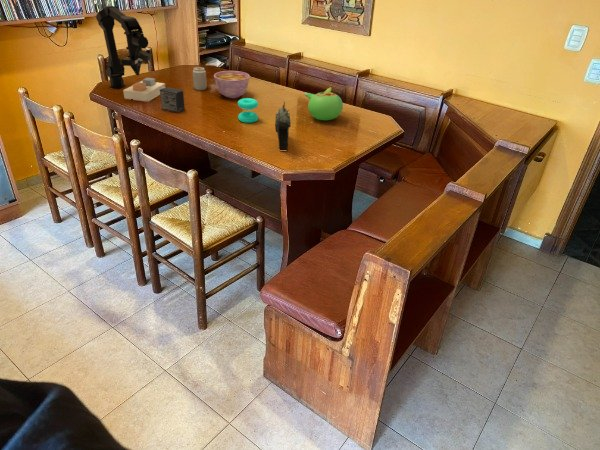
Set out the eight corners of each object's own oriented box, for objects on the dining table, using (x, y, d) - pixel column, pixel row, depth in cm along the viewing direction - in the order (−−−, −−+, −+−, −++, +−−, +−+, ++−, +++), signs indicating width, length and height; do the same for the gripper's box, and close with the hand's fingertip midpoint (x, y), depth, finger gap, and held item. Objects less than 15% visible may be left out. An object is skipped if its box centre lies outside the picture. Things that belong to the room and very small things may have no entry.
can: (208, 87, 267) (207, 66, 260) (204, 91, 261) (203, 70, 254) (196, 86, 267) (194, 65, 261) (192, 90, 261) (190, 69, 254)
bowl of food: (208, 97, 251) (206, 76, 245) (226, 88, 267) (225, 68, 260) (239, 103, 245) (238, 82, 239) (255, 94, 261) (255, 74, 255)
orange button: (133, 91, 242) (132, 84, 240) (138, 88, 246) (137, 82, 244) (141, 92, 241) (140, 85, 239) (146, 89, 245) (145, 83, 243)
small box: (185, 109, 233) (183, 89, 228) (177, 113, 228) (175, 93, 223) (169, 106, 237) (167, 86, 231) (161, 109, 232) (158, 89, 226)
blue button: (143, 86, 250) (142, 79, 248) (147, 83, 254) (146, 77, 252) (151, 87, 249) (150, 81, 247) (155, 84, 253) (154, 78, 252)
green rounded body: (316, 126, 223) (318, 97, 215) (301, 115, 235) (302, 87, 227) (347, 122, 230) (350, 94, 222) (330, 111, 242) (332, 84, 234)
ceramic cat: (290, 153, 195) (291, 108, 184) (275, 153, 194) (276, 108, 183) (287, 135, 211) (289, 93, 200) (273, 135, 211) (274, 93, 200)
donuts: (252, 96, 226) (261, 102, 219) (252, 115, 231) (261, 121, 225) (234, 98, 221) (243, 105, 214) (235, 118, 227) (243, 124, 220)
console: (124, 98, 243) (123, 90, 240) (143, 88, 259) (142, 80, 257) (148, 101, 241) (146, 93, 238) (165, 91, 257) (164, 83, 254)
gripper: (137, 50, 222) (142, 81, 230) (156, 42, 237) (160, 72, 245) (117, 47, 223) (122, 79, 232) (137, 40, 239) (141, 70, 247)
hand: (137, 75), depth 239 cm, fingers closed
